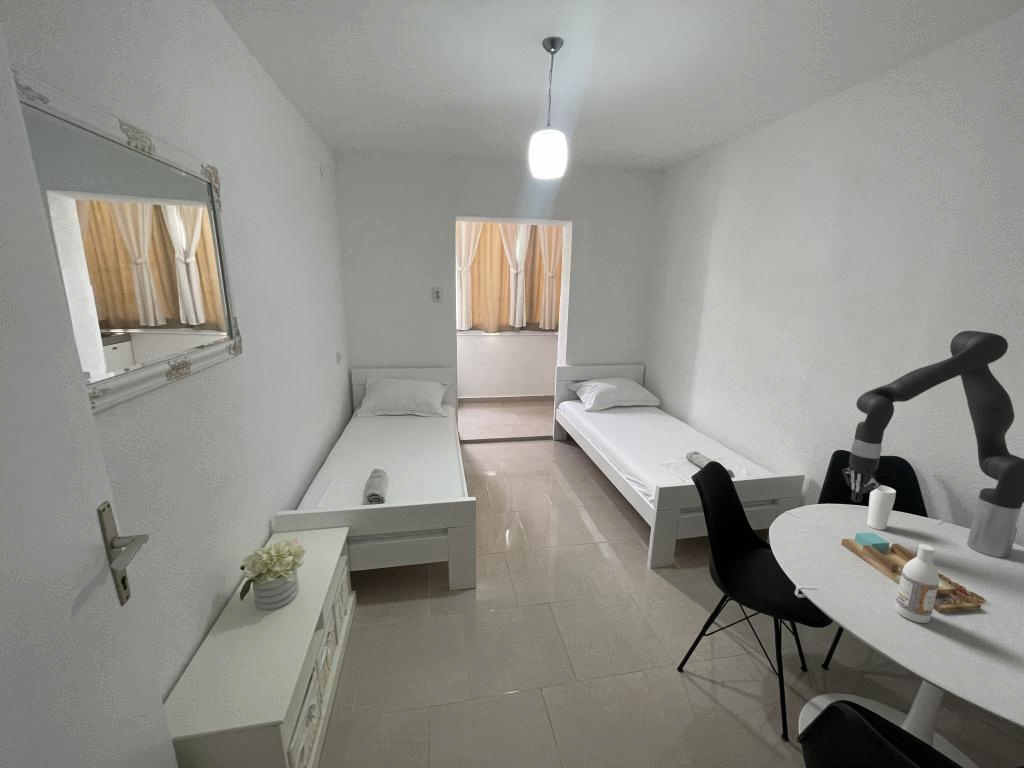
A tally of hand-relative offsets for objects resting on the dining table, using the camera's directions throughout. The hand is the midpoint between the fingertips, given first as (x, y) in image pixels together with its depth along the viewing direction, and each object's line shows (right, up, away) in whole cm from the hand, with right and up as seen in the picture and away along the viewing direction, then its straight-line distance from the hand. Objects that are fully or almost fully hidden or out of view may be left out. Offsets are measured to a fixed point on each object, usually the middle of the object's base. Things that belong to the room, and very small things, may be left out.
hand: (855, 501), depth 146 cm
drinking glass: (+16, -12, +10) cm, 22 cm away
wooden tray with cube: (+2, -18, -16) cm, 24 cm away
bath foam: (-11, -22, -32) cm, 40 cm away
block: (+1, -13, -5) cm, 14 cm away
